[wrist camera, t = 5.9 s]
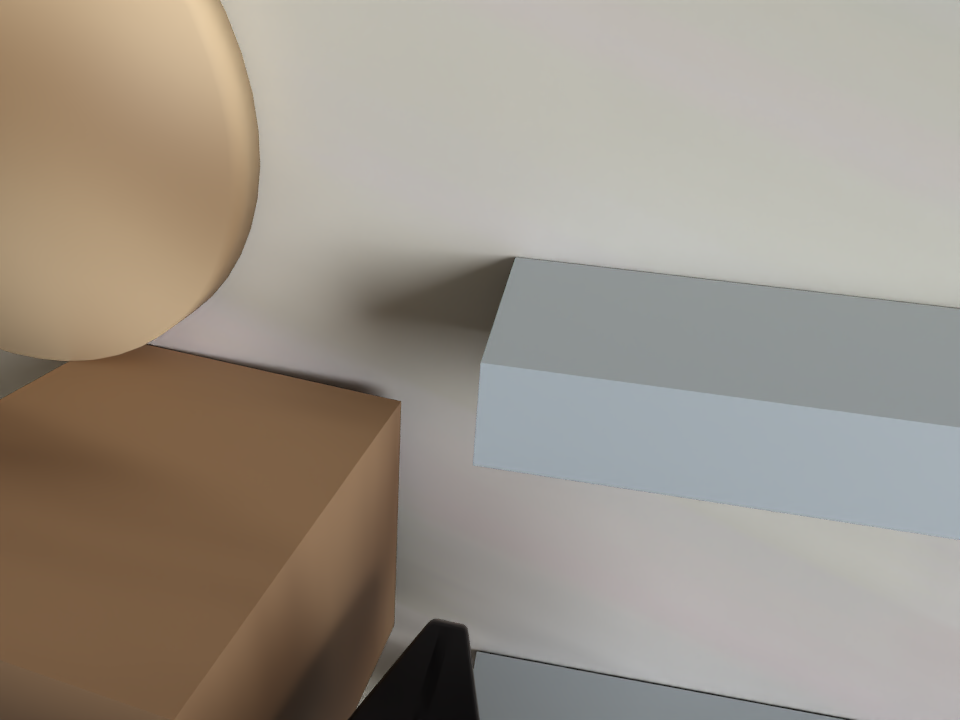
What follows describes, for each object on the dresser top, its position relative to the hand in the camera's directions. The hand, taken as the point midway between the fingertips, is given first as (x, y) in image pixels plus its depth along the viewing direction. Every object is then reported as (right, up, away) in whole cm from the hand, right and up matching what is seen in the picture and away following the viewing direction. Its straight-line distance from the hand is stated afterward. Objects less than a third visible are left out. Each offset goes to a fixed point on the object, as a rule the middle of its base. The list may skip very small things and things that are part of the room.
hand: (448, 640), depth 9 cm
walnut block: (-3, +2, +2) cm, 4 cm away
